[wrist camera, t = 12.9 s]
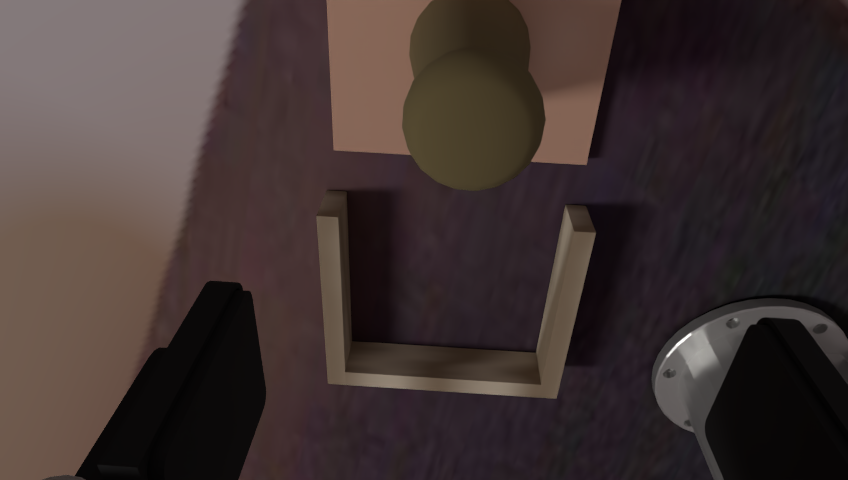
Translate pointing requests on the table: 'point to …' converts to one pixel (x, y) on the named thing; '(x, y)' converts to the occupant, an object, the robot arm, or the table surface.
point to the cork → (472, 94)
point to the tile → (392, 76)
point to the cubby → (446, 363)
